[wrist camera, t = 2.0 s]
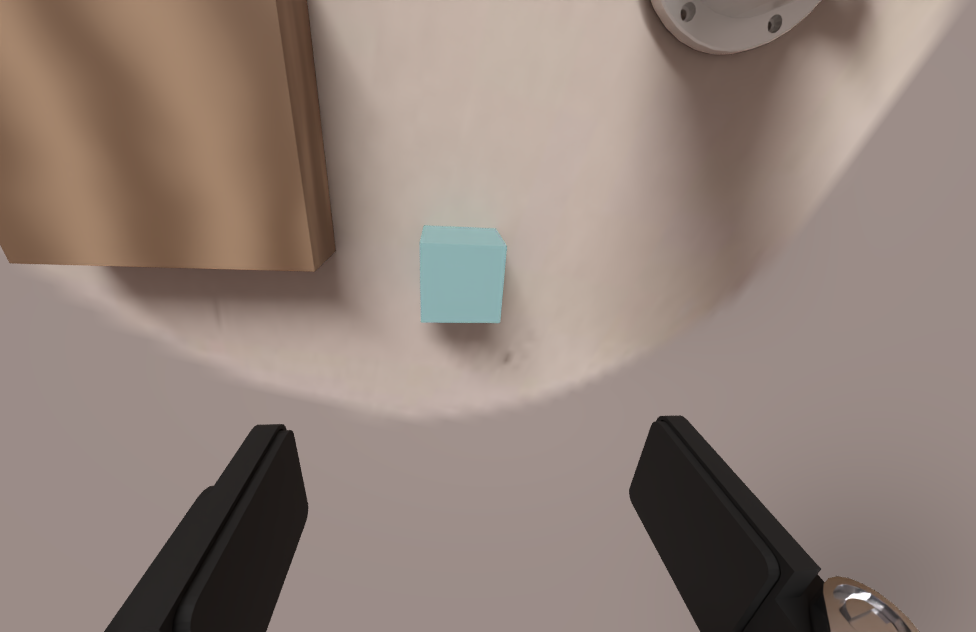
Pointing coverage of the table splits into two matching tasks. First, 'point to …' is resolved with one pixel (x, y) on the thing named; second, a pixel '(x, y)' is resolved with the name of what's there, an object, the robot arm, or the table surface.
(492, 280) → the teal cube
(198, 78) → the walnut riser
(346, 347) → the table surface
